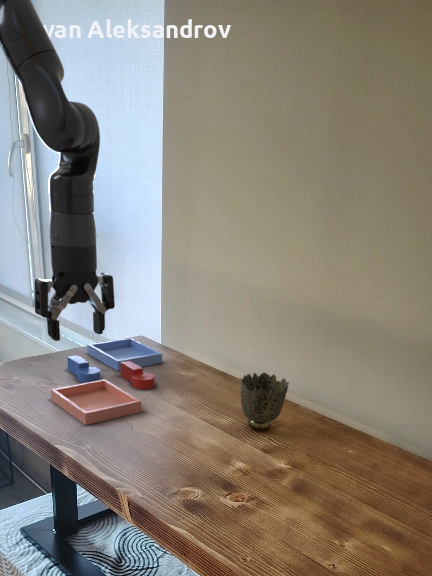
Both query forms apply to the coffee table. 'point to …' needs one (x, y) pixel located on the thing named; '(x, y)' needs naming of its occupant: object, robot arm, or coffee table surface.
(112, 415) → the red tray
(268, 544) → the coffee table surface
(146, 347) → the blue tray
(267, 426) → the cup
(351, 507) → the coffee table surface
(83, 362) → the blue rounded block
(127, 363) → the red stepped block
